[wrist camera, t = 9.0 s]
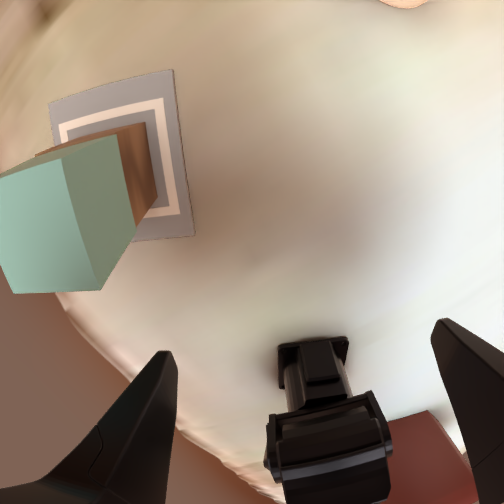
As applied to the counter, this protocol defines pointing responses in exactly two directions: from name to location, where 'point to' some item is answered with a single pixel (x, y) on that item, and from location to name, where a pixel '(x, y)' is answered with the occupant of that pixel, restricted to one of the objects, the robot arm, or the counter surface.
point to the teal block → (65, 218)
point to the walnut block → (129, 164)
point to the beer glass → (404, 3)
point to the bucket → (427, 464)
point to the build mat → (159, 138)
